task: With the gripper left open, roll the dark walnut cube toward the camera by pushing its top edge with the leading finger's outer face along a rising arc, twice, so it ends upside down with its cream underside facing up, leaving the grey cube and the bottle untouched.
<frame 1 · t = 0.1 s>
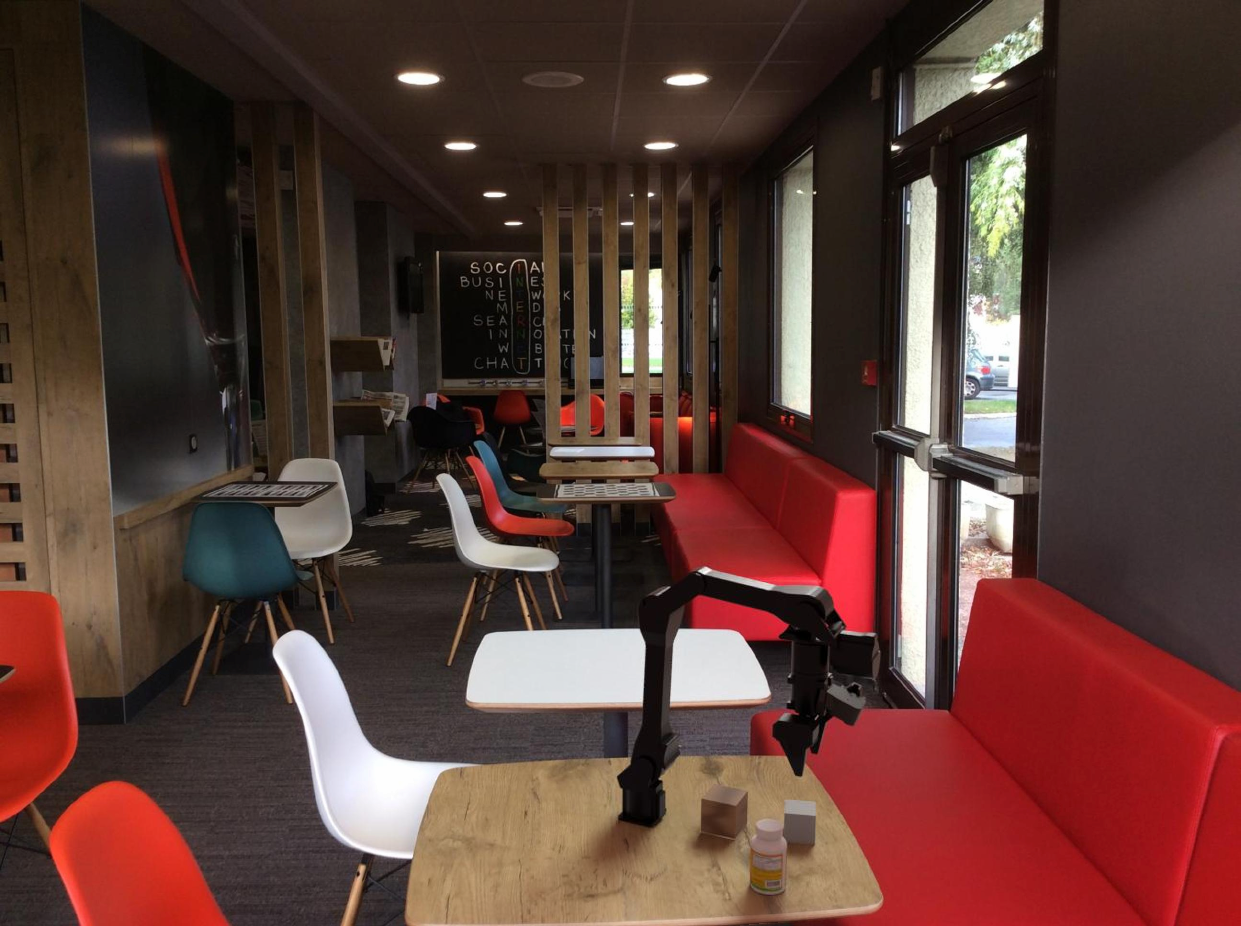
hand: (806, 764, 163), 15 cm above the table, tool pointing down, fingers open, 9 cm apart
grey cube: (799, 836, 171), on the table
supplement bottle: (767, 887, 155), on the table
walnut cube: (724, 828, 173), on the table
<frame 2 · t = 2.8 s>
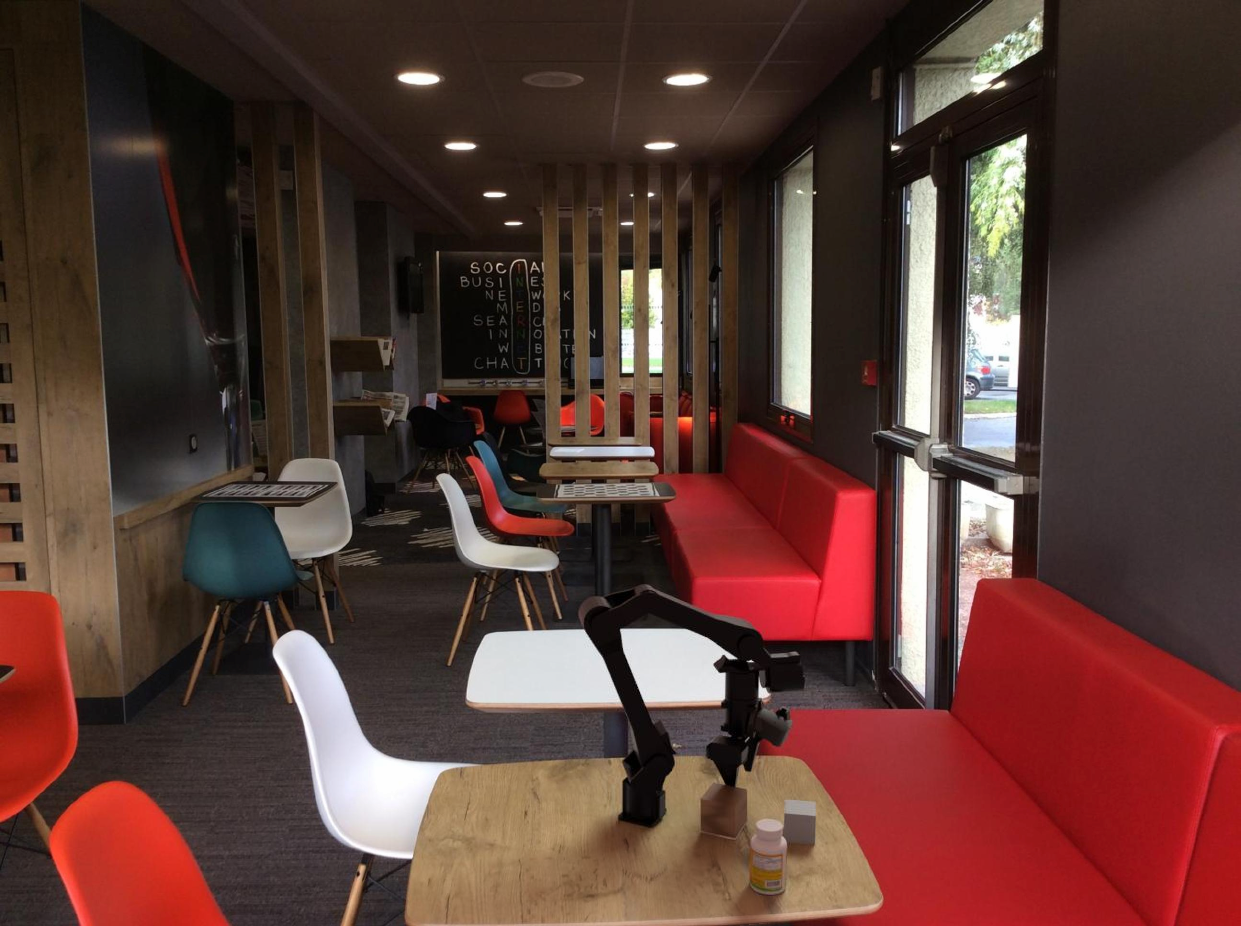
hand: (740, 781, 179), 5 cm above the table, tool pointing down, fingers open, 8 cm apart
walnut cube: (724, 827, 173), on the table, touching gripper
everything else where it was.
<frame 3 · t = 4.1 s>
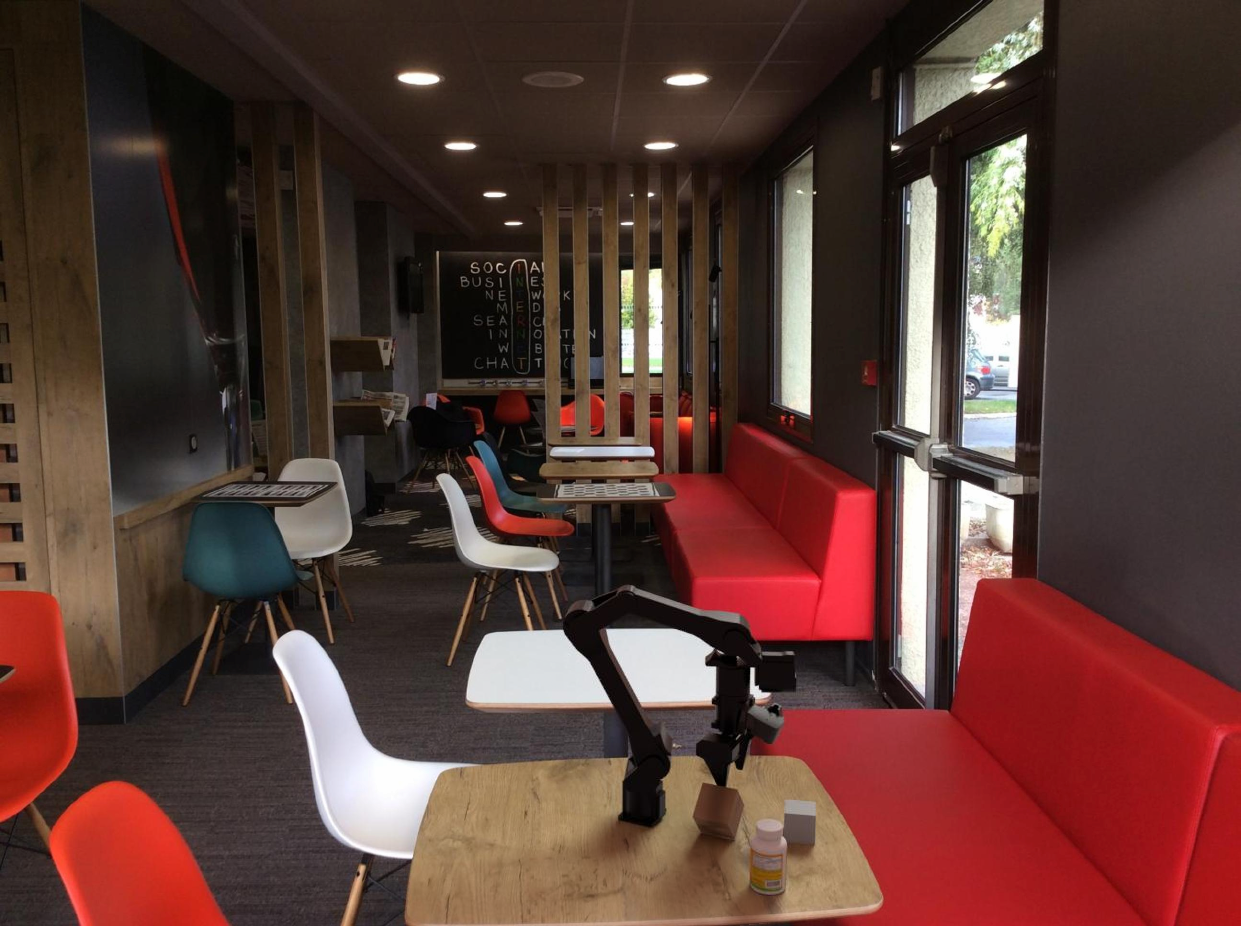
hand: (731, 779, 175), 7 cm above the table, tool pointing down, fingers open, 8 cm apart
walnut cube: (722, 818, 172), point 2 cm above the table, tilted 41°, touching gripper
everything else where it was.
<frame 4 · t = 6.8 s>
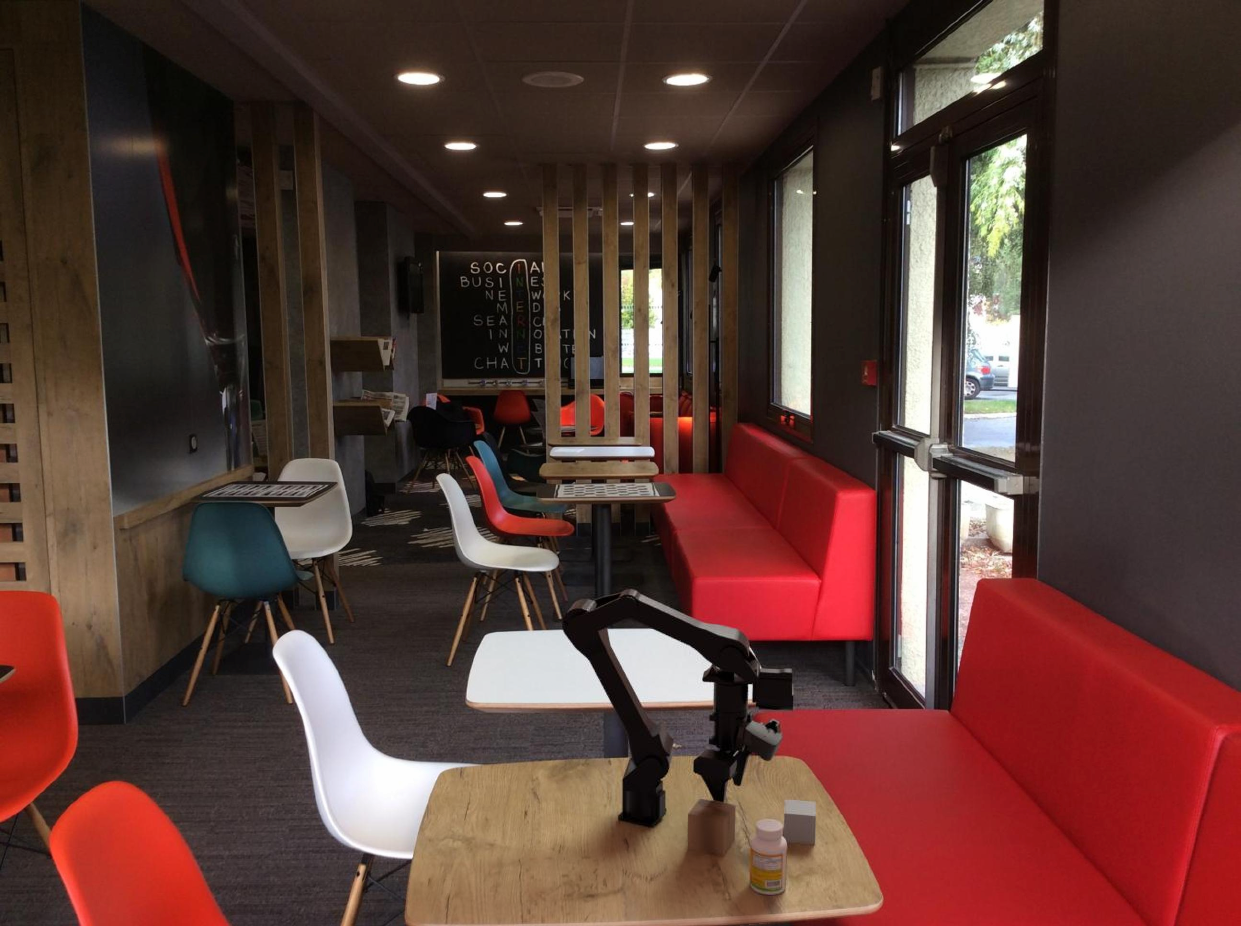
hand: (729, 795, 174), 5 cm above the table, tool pointing down, fingers open, 8 cm apart
walnut cube: (717, 818, 170), point 3 cm above the table, tilted 90°, touching gripper
everything else where it was.
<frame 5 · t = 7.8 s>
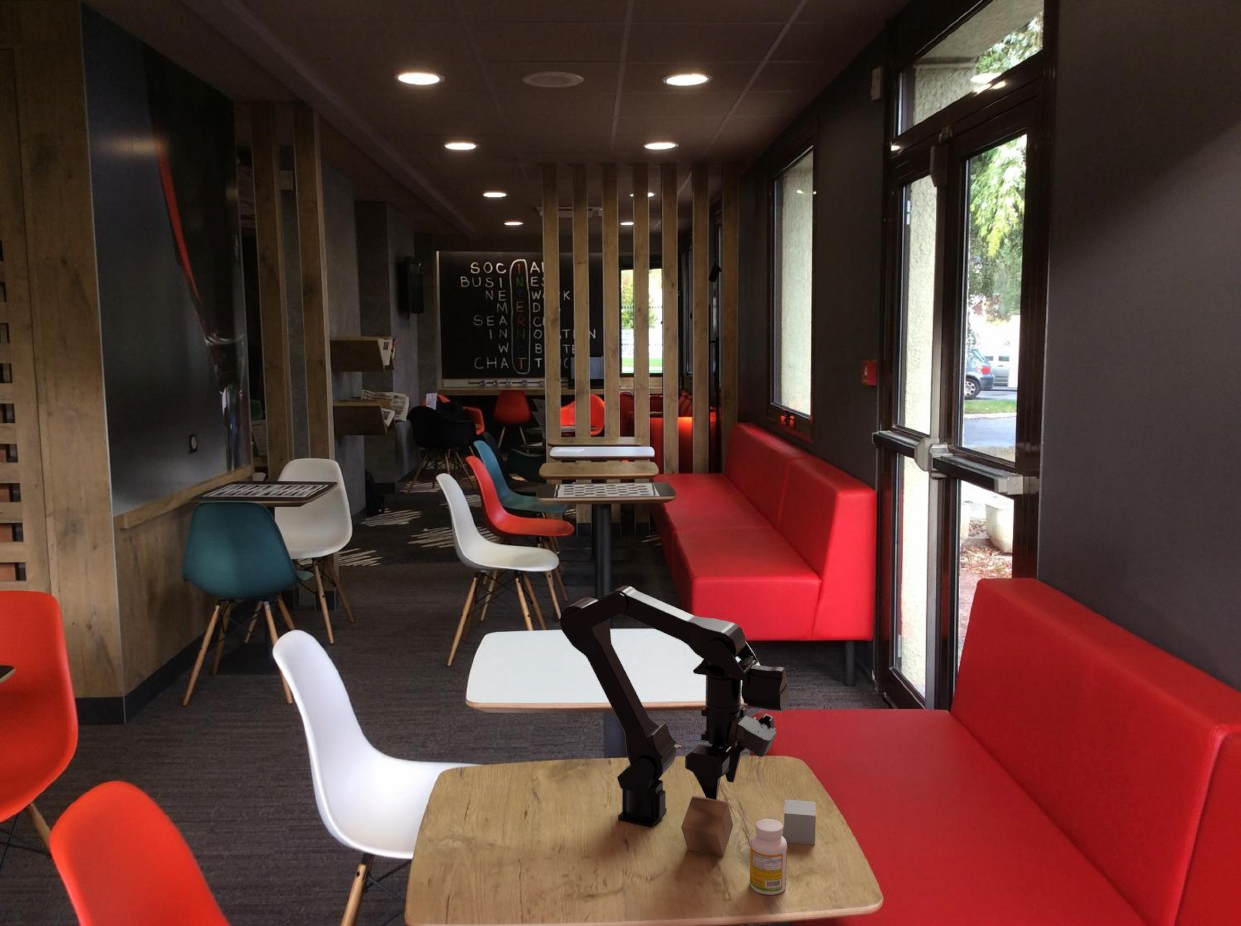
hand: (721, 792, 171), 7 cm above the table, tool pointing down, fingers open, 9 cm apart
walnut cube: (713, 809, 167), point 6 cm above the table, tilted 121°, touching gripper
everything else where it was.
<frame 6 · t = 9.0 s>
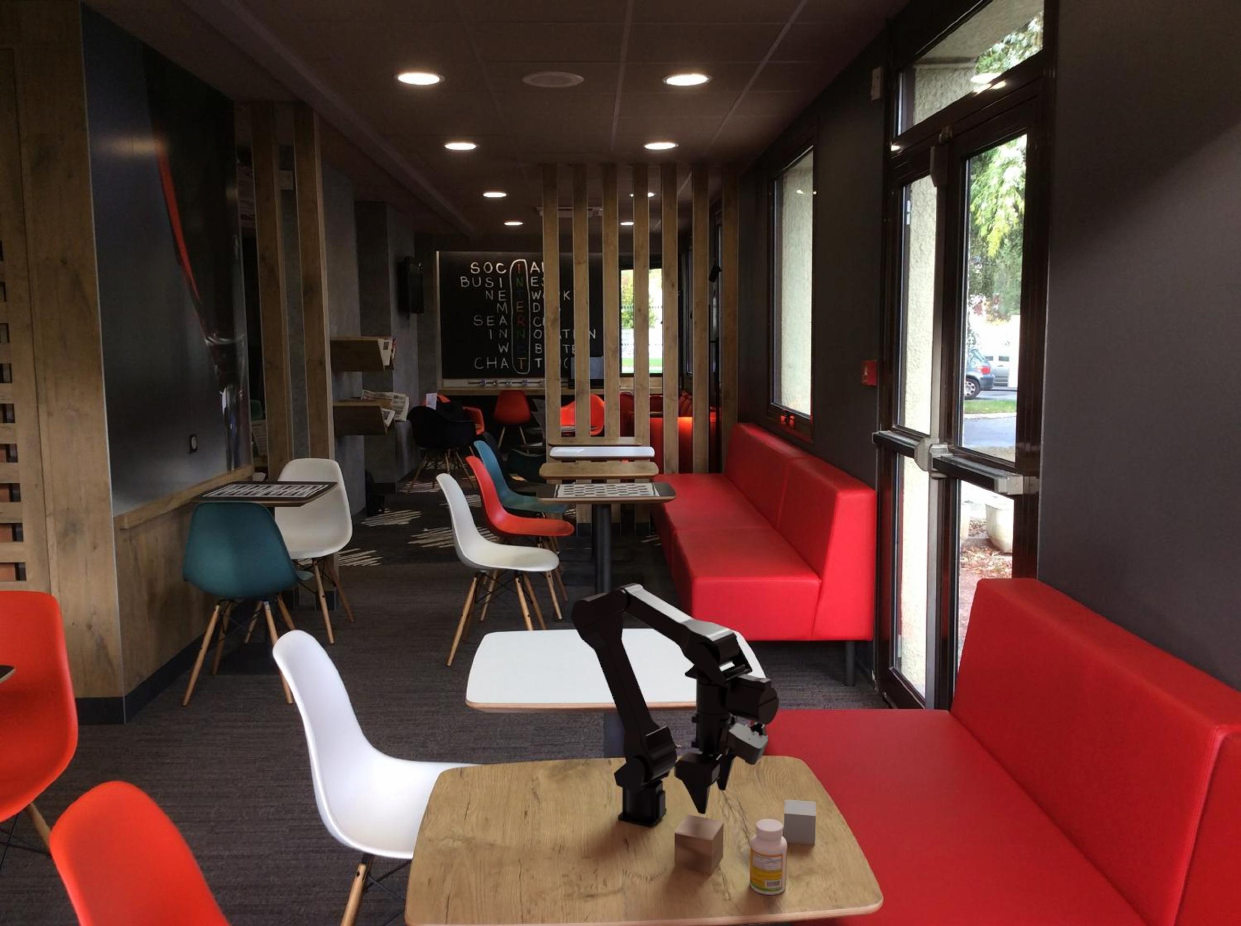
hand: (712, 801, 167), 7 cm above the table, tool pointing down, fingers open, 9 cm apart
walnut cube: (699, 825, 161), point 6 cm above the table, tilted 180°
everything else where it was.
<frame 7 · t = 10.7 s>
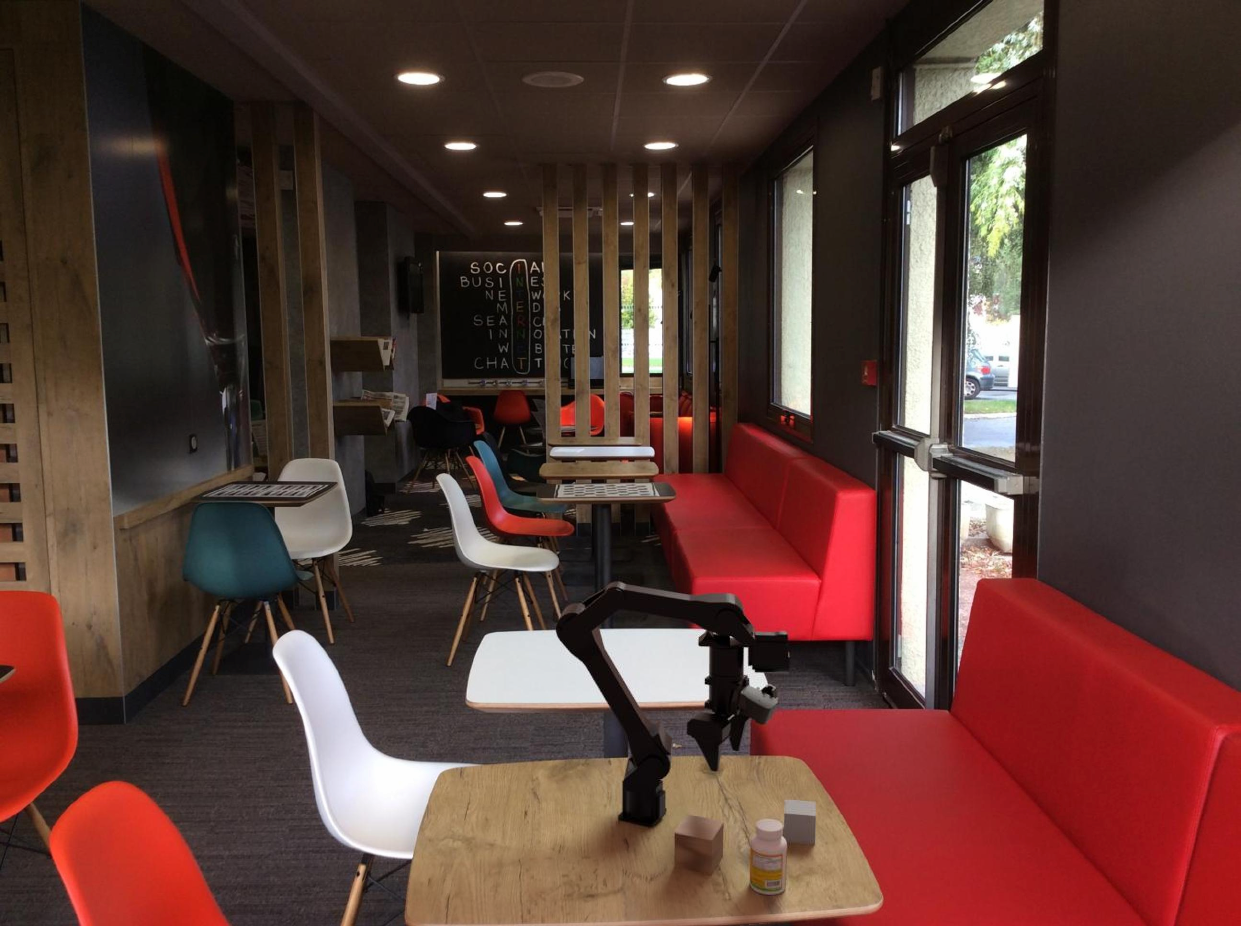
hand: (725, 760, 174), 10 cm above the table, tool pointing down, fingers open, 9 cm apart
nothing on the table moved.
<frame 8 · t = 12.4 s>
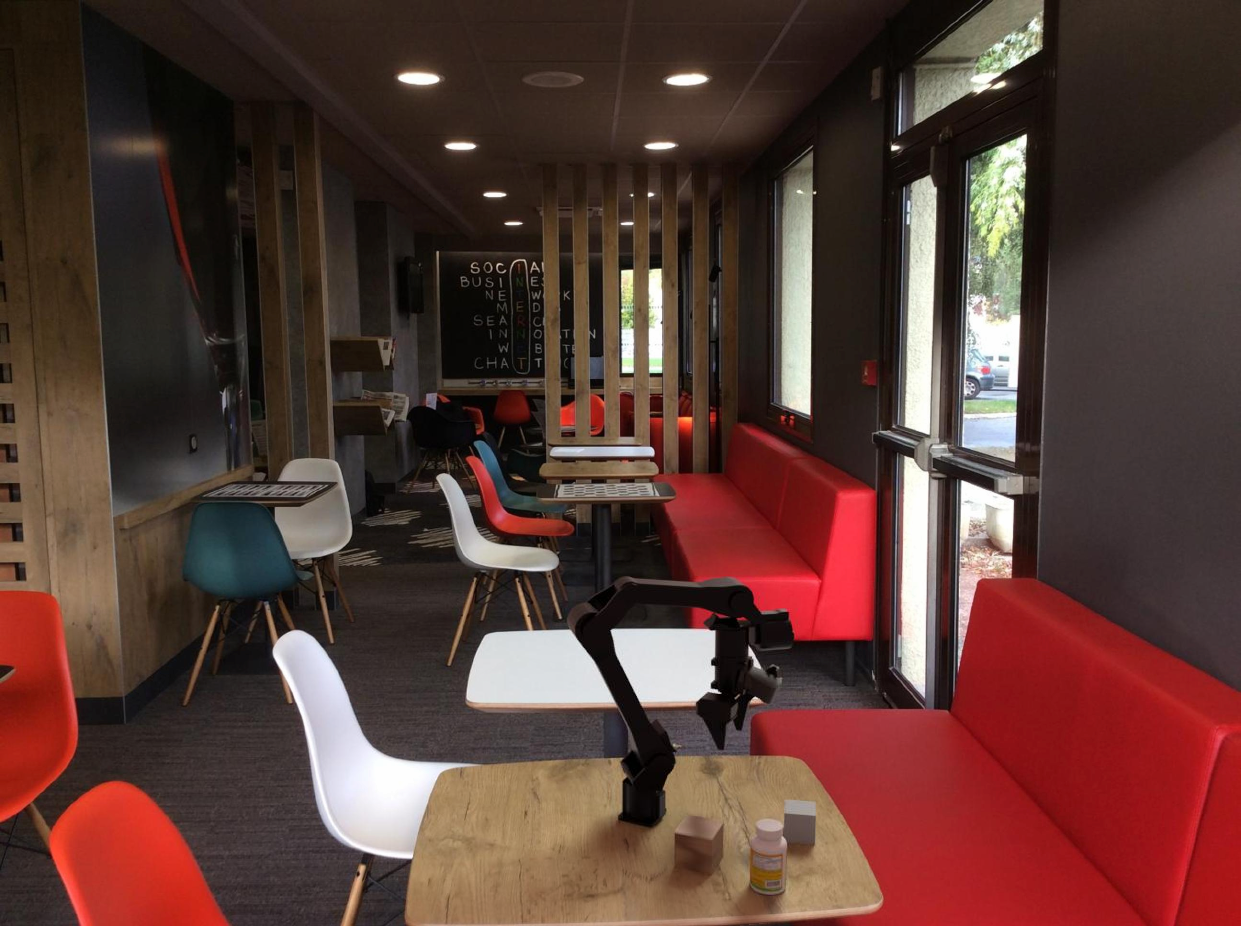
hand: (730, 739, 179), 12 cm above the table, tool pointing down, fingers open, 9 cm apart
nothing on the table moved.
at the end: walnut cube tilted 180°; walnut cube inside the target area (1.6 cm from its centre), point 5.9 cm above the table; the gripper is holding nothing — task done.
